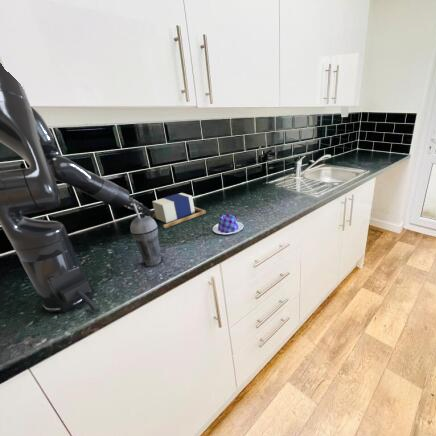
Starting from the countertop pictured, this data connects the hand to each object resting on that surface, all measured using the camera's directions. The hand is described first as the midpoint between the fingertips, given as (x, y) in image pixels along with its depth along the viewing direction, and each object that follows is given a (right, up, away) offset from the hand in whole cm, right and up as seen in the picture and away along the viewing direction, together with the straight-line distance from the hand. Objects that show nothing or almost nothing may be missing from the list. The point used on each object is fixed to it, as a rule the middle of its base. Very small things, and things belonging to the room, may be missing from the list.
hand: (152, 214), depth 104 cm
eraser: (+5, 0, +10) cm, 11 cm away
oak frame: (+6, -1, +9) cm, 11 cm away
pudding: (+32, -6, -3) cm, 32 cm away
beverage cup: (+13, -16, -24) cm, 31 cm away
